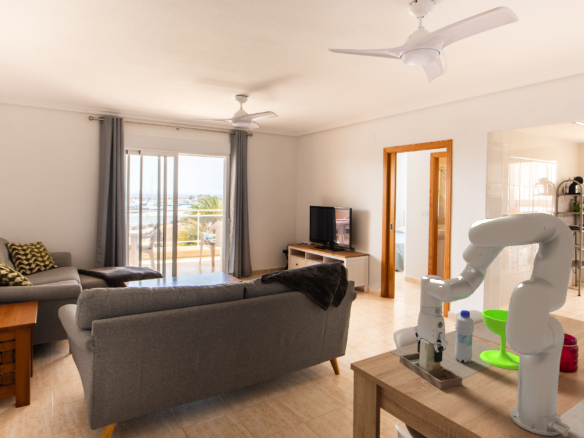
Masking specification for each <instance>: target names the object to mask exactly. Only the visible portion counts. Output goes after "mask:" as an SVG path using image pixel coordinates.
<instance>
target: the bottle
mask: <svg viewBox="0 0 584 438" xmlns="http://www.w3.org/2000/svg"><path fill="white" fill-rule="evenodd" d="M454 326H455V327H454V329H455V344H454V345H455V346H454V358H455V359H456V361H458V362H460V363H462V361H463V363H465V364H467V363H470V362H471V361H472V358H473V333H474V329H475V327H474V319H473V318H472V317H471V312H470V311H469V310H467V309H466V310H465V309H463V310H460V316H457V317H456V319H455V324H454Z"/></svg>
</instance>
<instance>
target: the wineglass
mask: <svg viewBox="0 0 584 438" xmlns="http://www.w3.org/2000/svg"><path fill="white" fill-rule="evenodd" d="M507 316H508V310H506V309H493V308H492V309H491V308H490V309H484V310H482V311H481V317H482V320H483V323H484V325H485V326H486V328H487V329H488V330H489V331H491V332H492V333H494V334H495V335H498V336H500V345H499V348H500V349H499V350H497V349H496V350H495V349H489V350H484V351H482V352H481V353H479V358H480V359H481V360H482V361H483V362H484V361H485V362H484V363H486V364H489V365H490V366H493V367H497V368H501V369H506V370H514V371H515V370H519V358H520V355H516V354H514V353H512V352H509V351H506V349H507V339H506V322H507Z"/></svg>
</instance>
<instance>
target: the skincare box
mask: <svg viewBox="0 0 584 438" xmlns="http://www.w3.org/2000/svg"><path fill="white" fill-rule="evenodd" d="M437 342H438V341H437ZM437 346H438V348H439V344H437ZM434 351H436V350H435V347H434V345H433V344H432V343H430V342H428V341H426V340H425V339H421V341H420V359H419V367H420V368H421V369H423V370H425V371H432V370H437V369H440V365H441V362H437V363H435V362H434Z"/></svg>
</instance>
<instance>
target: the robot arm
mask: <svg viewBox="0 0 584 438" xmlns="http://www.w3.org/2000/svg"><path fill="white" fill-rule="evenodd" d="M467 233H468V235H467V236H468V239H469V242H470V243H469V244H468V246H467V247H466V248H465V249H464V250H463V252H462V259H463V260H464V262H466V265H465V267H464V269H463V270H462V271H461V273H459V275H458V276H457V277H453V278H448V279H444V278H442V276H439V275H435V274H425V275H423V276H422V277H421V279H420V297H419V298H420V305H419V313H418V318H417V326H414V327H413V330H414V333H415V337H416V341H417V350H416V351H417V352H416V353H420V341H421V339H425V340H426V341H428V342H430V343H432V344H433V345H434V347H435V350H436V351H434V362H435V363H437V362H440V363H441V362H443V352H444V351H445V350H446V349H447V348H448V346H449V342H448V340H447V339H446V324H445V323H446V322H445V318H444V315H443V313H444V311H443V303H445V304H446V303H453V302H457V301H460V300H465V299H467V298H469V297H471V296H472V295H473V294H474V293H475V292H476V290H477V289H478V288H479V287H480V286H481V285H482V283H483V281H484V280H485V278H486V275H487V270H488V269H489V267H490V266H491V264H492V263H493V262H494V261H495V260H496V258H497V257H498V256H499V255H500V254H501V252H502V251H503V250H504V249H505V247H515V246H516V247H517V246H527V245H533V244H534V245H535V244H538V250H537V252H536V255H535V257H534V260H533V266H532V267H533V268H532V272H531V276H530V278H529V279H527V280H523V281H521V282H519V283H518V284H517V285H516V286H515V287H514V288H513V291H512V292H511V294H510V295H511V296H510V299H509V304H508V310H507V311H508V316H507V322H506V342H507V344H508V345H509V347H510V349H512V350H513V351H514V352H516V353H518V354H519V357H520V358H519V369H518V373H517V374H518V377H517V392H516V393H517V396H516V397H517V398H516V406H515V407H513V408H512V409H511V410H510V412H509V413H510V414H509V415H510V419H511V420H512V422H513V423H515V424H516V425H517V426H519V428H522V429H523V430H526V431H529V432H530V433H533V434H536V435H541V436H549V437H551V436H552V437H555V436H557V435H562V436H564V437H568V436H569V433H570V432H569V431H570V425H568V424H567V423H564V422H562V420H561V414H560V413H558V398H559V397H558V396H559V395H558V393H559V392H558V391H559V378H560V377H559V376H560V366H561V365H560V364H561V356H562V350H563V347H564V341H565V330H564V327H563V325H562V323H561V322H560V320H559V319H557V317H555V316H553V315H552V314H550V313H553V312H556V311H558V310H559V309H561V308H563V306H564V305H565V304H566V301H567V295H568V294H567V293H568V289H569V284H570V278H571V272H572V271H571V269H572V263H573V259H574V254H575V248H576V247H575V237H574V234H573V231H572V230H571V228H570V226H569V225H568V224H567V223H566V222H565V221H564V220H562V219H561V218H560V217H558V216H556V215H553V214H549V213H546V212H528V213H515V214H510V215H504V216H500V217H493V218H486V219H480V220H477V221H476V222H474V223H472V224H471V226H470V227H469V228H468V232H467ZM437 341H438V342H437ZM437 344H439V348H438V346H437Z"/></svg>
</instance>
